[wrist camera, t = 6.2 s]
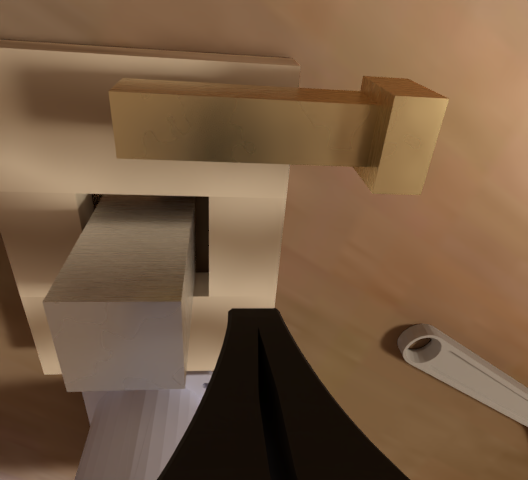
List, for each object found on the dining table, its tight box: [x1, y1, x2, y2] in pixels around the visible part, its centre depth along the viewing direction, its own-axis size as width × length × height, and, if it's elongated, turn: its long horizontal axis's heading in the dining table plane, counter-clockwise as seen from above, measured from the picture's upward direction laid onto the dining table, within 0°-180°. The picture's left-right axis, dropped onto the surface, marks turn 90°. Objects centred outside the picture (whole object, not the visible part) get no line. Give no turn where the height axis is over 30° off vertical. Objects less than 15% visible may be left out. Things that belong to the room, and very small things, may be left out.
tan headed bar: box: [108, 76, 449, 195], centre depth 13 cm, size 3×10×3 cm, turn 86°
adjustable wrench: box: [397, 324, 528, 427], centre depth 30 cm, size 25×6×2 cm, turn 48°
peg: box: [42, 194, 196, 392], centre depth 17 cm, size 4×4×8 cm
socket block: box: [0, 40, 301, 375], centre depth 19 cm, size 16×12×2 cm
